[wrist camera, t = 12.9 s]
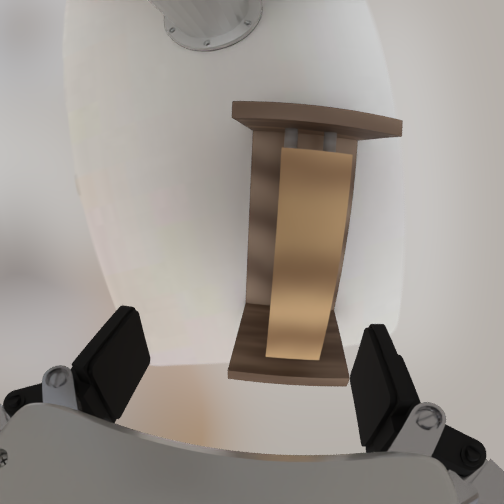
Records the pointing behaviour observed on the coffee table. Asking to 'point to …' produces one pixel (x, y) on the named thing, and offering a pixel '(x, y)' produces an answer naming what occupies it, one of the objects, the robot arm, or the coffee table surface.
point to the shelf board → (307, 249)
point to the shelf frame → (265, 224)
